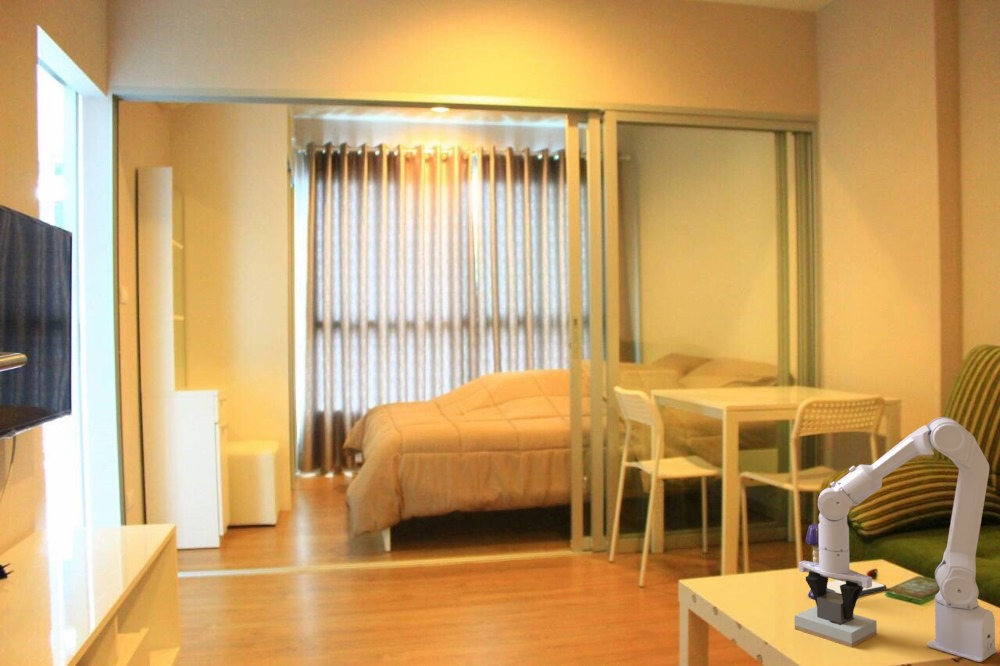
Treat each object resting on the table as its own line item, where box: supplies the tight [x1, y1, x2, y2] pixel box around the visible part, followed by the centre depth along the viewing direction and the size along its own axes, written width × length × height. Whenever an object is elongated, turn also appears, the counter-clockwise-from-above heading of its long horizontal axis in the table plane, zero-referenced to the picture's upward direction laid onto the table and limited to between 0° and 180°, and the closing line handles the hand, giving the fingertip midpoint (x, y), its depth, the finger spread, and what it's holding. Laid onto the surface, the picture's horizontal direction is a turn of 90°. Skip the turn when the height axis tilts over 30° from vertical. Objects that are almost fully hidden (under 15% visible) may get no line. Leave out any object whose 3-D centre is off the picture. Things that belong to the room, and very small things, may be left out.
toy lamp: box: [805, 524, 827, 600], centre depth 174 cm, size 5×5×17 cm
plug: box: [816, 592, 853, 625], centre depth 154 cm, size 5×5×6 cm
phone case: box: [826, 579, 887, 598], centre depth 179 cm, size 9×2×16 cm
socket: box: [794, 605, 878, 648], centre depth 154 cm, size 12×10×3 cm
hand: (834, 614), depth 154 cm, fingers closed on plug, 5 cm apart
